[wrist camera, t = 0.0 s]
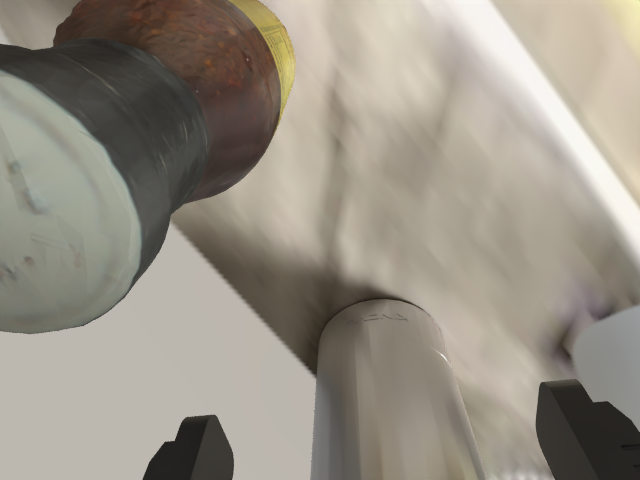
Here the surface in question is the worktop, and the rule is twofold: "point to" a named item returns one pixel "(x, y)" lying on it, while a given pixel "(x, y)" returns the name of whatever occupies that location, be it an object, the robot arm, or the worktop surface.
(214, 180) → the sauce bottle
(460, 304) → the worktop surface
